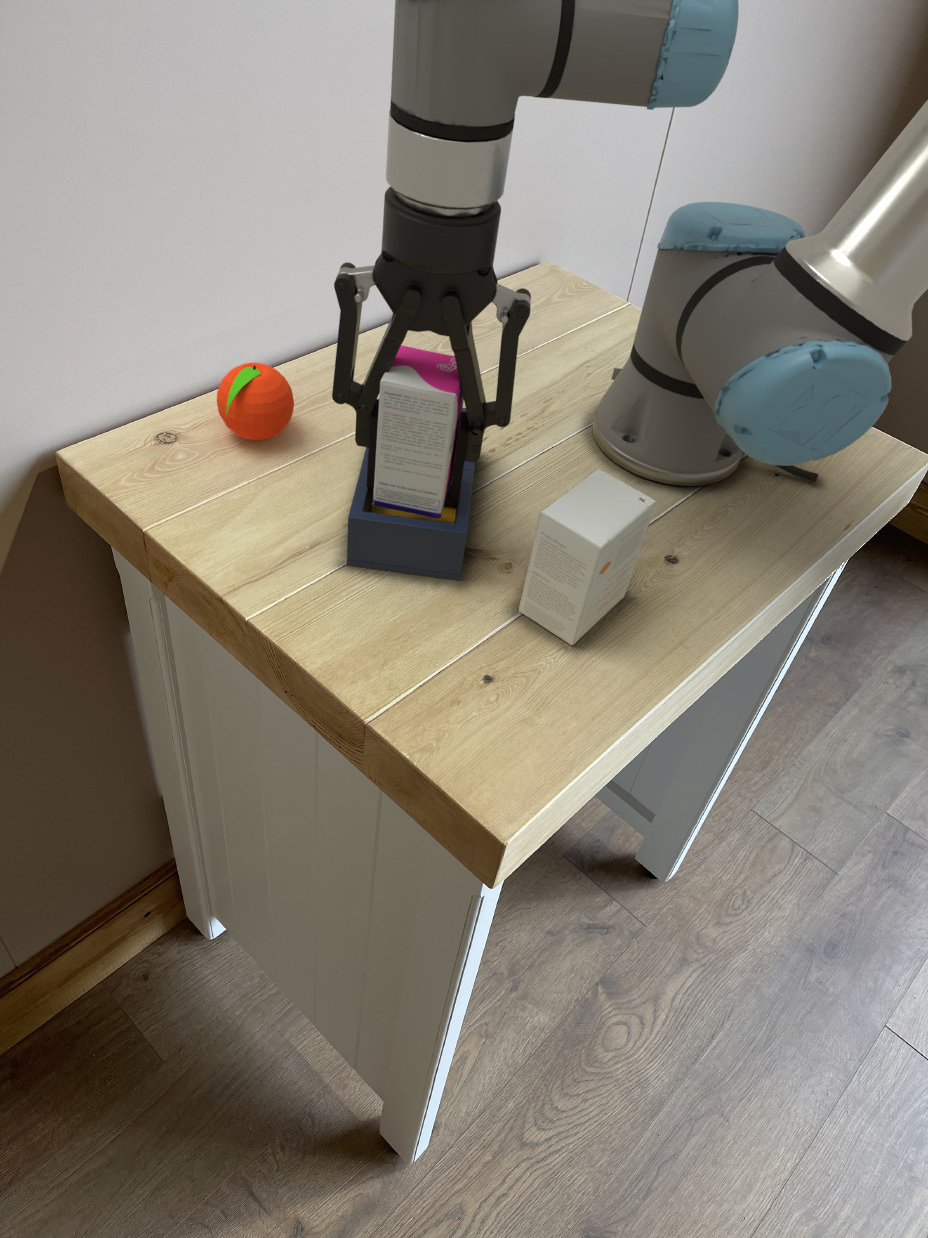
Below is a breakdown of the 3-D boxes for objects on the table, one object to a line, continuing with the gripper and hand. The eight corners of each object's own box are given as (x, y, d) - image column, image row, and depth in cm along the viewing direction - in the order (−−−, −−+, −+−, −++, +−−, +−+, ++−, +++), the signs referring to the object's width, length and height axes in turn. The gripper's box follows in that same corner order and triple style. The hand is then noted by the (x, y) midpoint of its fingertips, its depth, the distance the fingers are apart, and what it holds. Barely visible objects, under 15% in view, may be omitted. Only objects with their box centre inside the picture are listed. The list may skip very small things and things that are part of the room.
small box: (571, 565, 79) (598, 465, 71) (625, 598, 77) (659, 499, 69) (515, 611, 74) (538, 509, 66) (571, 648, 72) (602, 547, 64)
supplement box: (443, 520, 73) (455, 395, 65) (370, 506, 74) (374, 380, 66) (456, 478, 77) (470, 355, 69) (388, 465, 78) (393, 341, 70)
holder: (376, 441, 88) (379, 395, 84) (473, 455, 88) (480, 409, 85) (346, 565, 75) (348, 517, 72) (459, 580, 76) (467, 533, 72)
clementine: (262, 470, 83) (259, 401, 78) (197, 445, 84) (190, 376, 79) (308, 427, 88) (308, 361, 83) (246, 404, 90) (242, 338, 85)
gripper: (589, 192, 61) (530, 472, 78) (306, 148, 61) (307, 440, 77) (592, 238, 56) (528, 528, 73) (282, 191, 56) (288, 495, 72)
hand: (414, 482), depth 75 cm, fingers closed on supplement box, 6 cm apart
